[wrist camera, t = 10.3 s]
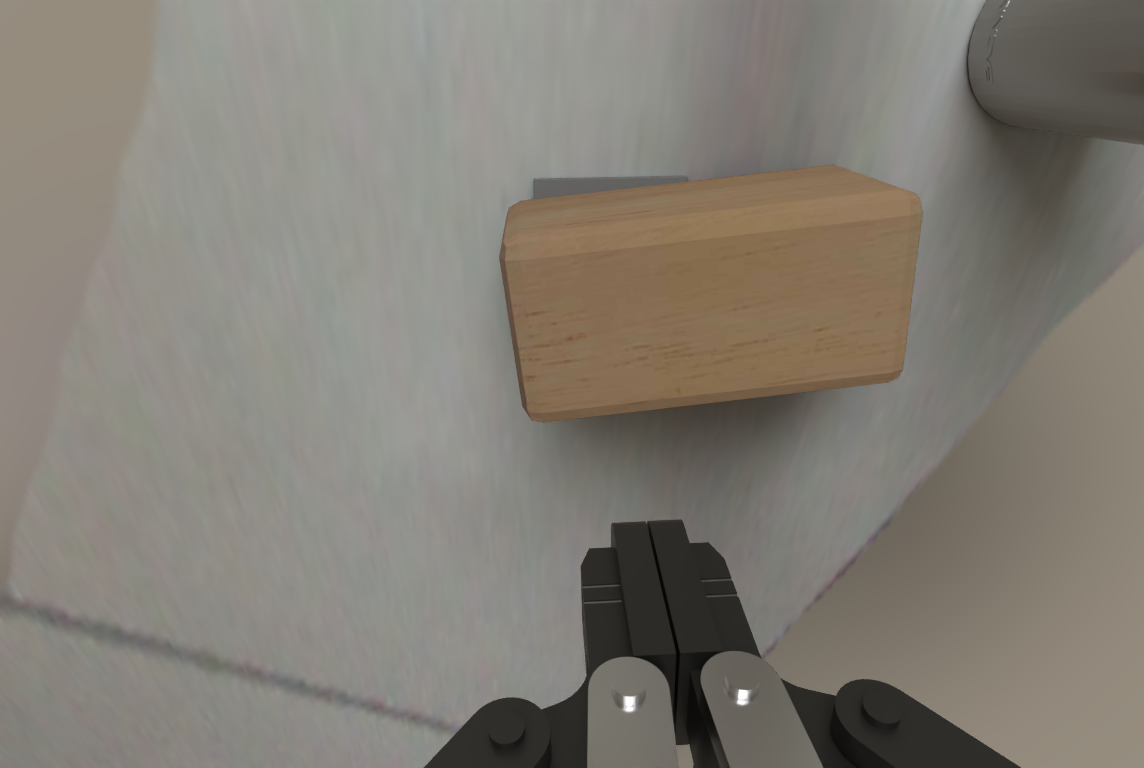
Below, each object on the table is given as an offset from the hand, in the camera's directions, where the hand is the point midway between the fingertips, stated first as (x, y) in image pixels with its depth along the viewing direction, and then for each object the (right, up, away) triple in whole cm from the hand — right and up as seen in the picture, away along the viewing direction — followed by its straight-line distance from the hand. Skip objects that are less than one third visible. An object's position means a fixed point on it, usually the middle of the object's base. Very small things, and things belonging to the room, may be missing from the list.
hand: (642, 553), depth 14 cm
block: (-5, +8, +23) cm, 24 cm away
